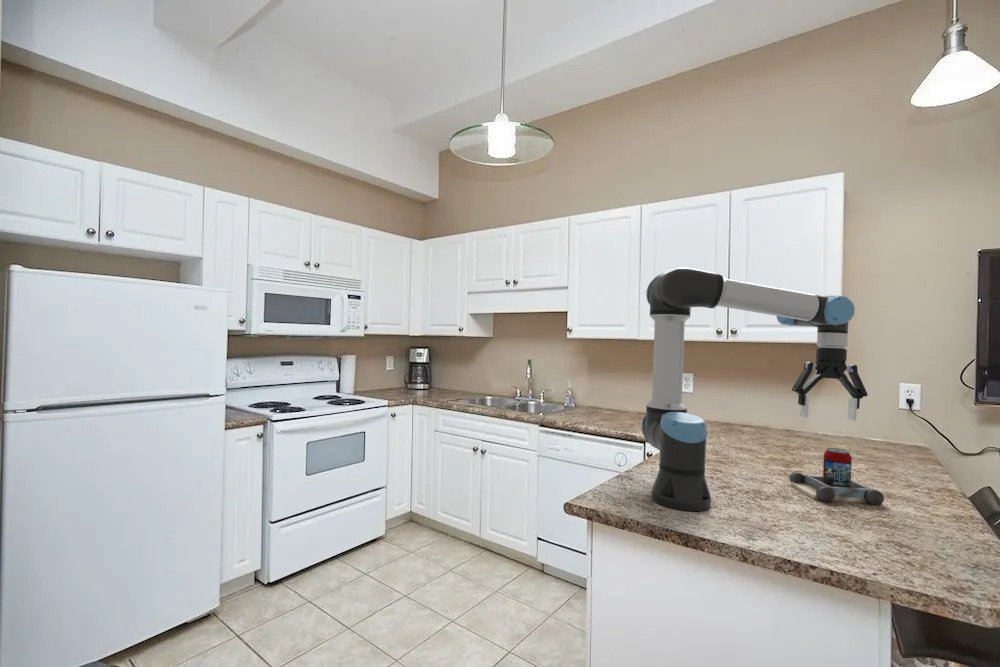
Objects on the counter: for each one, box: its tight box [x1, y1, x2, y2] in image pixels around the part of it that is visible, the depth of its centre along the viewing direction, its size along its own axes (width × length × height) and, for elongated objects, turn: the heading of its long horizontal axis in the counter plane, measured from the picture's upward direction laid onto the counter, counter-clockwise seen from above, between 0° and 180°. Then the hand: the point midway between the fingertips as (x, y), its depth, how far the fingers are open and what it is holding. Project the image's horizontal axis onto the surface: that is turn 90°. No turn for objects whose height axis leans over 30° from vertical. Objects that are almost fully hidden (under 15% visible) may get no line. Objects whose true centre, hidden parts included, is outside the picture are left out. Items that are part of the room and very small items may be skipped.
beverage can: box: [822, 447, 853, 488], centre depth 139 cm, size 7×7×12 cm
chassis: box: [789, 471, 885, 506], centre depth 139 cm, size 18×16×4 cm
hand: (827, 418), depth 141 cm, fingers open, 13 cm apart
